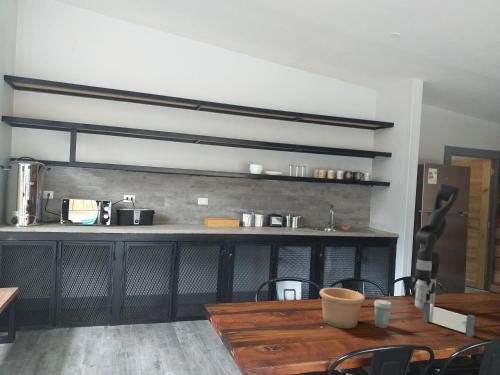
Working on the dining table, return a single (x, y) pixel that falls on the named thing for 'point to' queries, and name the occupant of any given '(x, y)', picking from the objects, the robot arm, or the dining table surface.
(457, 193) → the robot arm
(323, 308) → the pottery
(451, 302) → the dining table surface
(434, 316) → the gate leaf
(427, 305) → the gate frame
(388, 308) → the coffee cup
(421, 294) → the energy drink can
